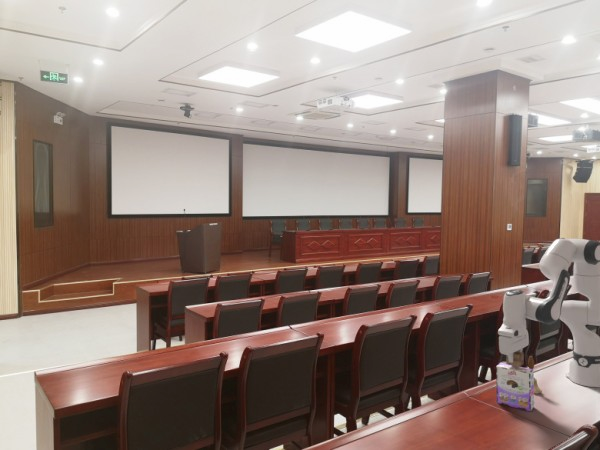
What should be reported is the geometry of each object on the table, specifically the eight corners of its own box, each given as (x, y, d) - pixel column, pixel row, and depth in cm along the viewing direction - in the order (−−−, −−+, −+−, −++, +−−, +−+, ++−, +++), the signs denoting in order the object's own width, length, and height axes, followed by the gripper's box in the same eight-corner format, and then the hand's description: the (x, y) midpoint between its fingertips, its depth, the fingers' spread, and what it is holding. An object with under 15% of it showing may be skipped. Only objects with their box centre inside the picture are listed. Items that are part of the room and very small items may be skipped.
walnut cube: (511, 361, 189) (511, 350, 189) (523, 364, 185) (523, 352, 185) (506, 364, 186) (506, 352, 186) (518, 367, 182) (518, 355, 182)
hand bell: (545, 393, 197) (544, 358, 196) (526, 393, 197) (526, 359, 196) (535, 386, 205) (535, 352, 205) (517, 386, 205) (517, 353, 205)
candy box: (534, 407, 184) (534, 369, 183) (530, 412, 179) (530, 373, 179) (500, 398, 193) (500, 361, 192) (496, 402, 189) (495, 365, 188)
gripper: (517, 322, 194) (518, 353, 195) (495, 331, 181) (496, 364, 182) (532, 325, 189) (532, 356, 190) (511, 334, 176) (511, 367, 177)
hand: (514, 360), depth 185 cm, fingers closed on walnut cube, 5 cm apart
